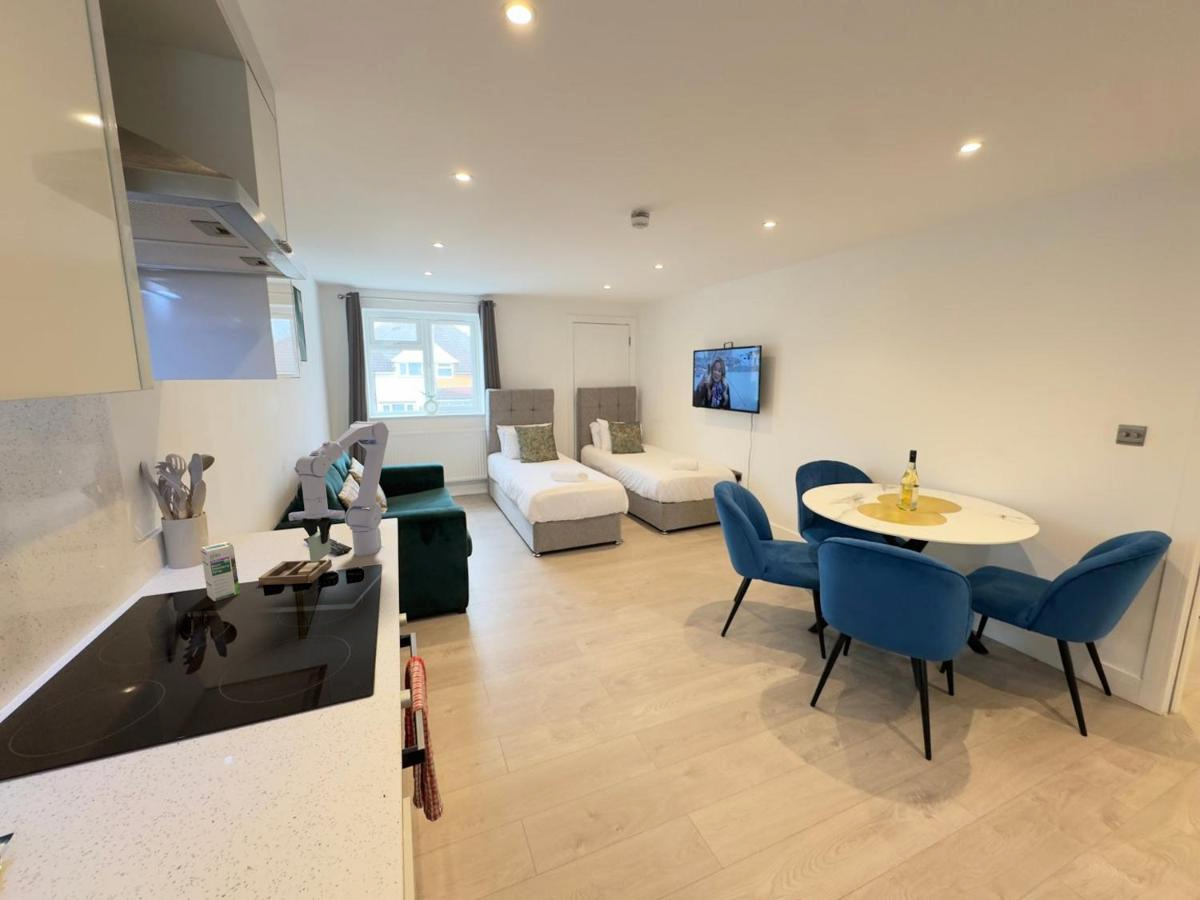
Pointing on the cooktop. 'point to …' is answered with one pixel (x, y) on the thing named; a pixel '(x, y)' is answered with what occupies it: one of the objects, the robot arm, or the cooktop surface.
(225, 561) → the syrup box
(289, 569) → the rack
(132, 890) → the cooktop surface
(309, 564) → the offcut stack
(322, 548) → the pale green flat block
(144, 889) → the cooktop surface
